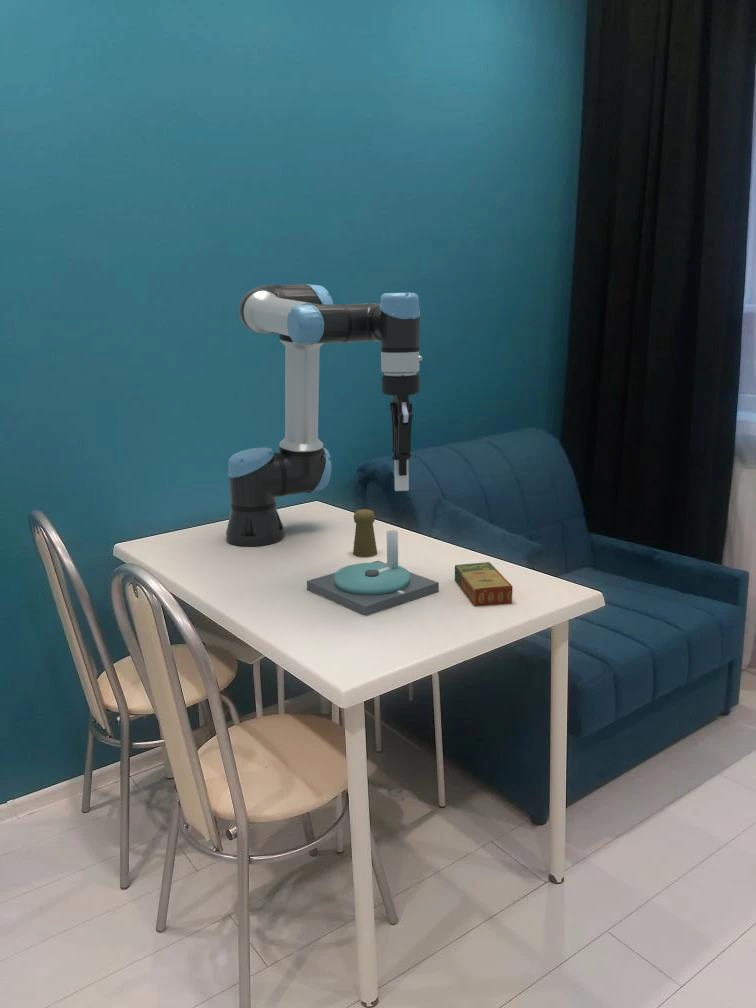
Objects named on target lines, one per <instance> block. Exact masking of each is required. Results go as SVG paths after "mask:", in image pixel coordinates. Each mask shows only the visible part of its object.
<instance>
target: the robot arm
mask: <svg viewBox="0 0 756 1008" xmlns="http://www.w3.org/2000/svg"><path fill="white" fill-rule="evenodd" d="M419 300H420V298H419V295H418V294H417V293H415V292H388V293H387V292H386V293H383V294H382V295H381V296H380V303H375V302H368V303H367V302H365V303H345V304H344V303H343V304H340V303H339V304H334V301H333V299H332V296H331V294H330V292H329V291H328V289H327V288H325V287H324V286H322V285H318V284H309V283H302V284H301V283H298V284H264V285H260V286H257V287H254V288H252V289H250V290H249V291H247V292H246V293H245V294H244V295H243V296H242V298H241V299H240V302H239V305H238V315H239V318H240V320H241V323H242V324H243V325H244V327H246V328H247V329H248V330H249V331H252V332H254V333H259V334H264V335H265V334H266V335H279V336H278V337H279V341H280V342H281V344H283V345H284V347H285V348H284V349H285V351H284V352H285V353H284V354H285V355H284V357H285V361H284V362H285V369H284V370H285V373H284V375H285V378H284V379H285V381H284V383H285V385H284V388H285V389H284V391H285V393H284V399H285V400H284V401H285V405H284V413H285V414H284V419H285V420H284V421H285V422H284V433H285V434H284V438H283V439H282V440H281V441H279V442H278V443H279V447H278V451H276V452H274V450H273V449H272V448H270V447H265V446H263V447H254V448H253V447H252V448H247V449H244V450H241V451H238V452H236V453H234V454H233V455H231V456H230V458H229V459H228V472H227V476H228V479H229V483H228V484H229V496H230V510H231V511H230V516H229V520H228V523H227V528H226V531H225V538H226V542H227V543H228V544H232V545H234V546H241V547H259V546H265V545H270V544H276V543H278V542H280V541H281V540H283V539H284V538H285V528H284V525H283V522H282V520H281V517H280V514H279V512H278V510H277V501H276V500H277V499H276V498H278V497H285V496H292V495H293V496H294V495H299V494H311V493H313V492H318V491H322V490H324V488H325V487H327V486H328V485H329V482H330V479H331V475H332V461H331V455H330V452H329V450H328V449H327V448H325V447H324V442H322V441H321V440H320V438H319V398H320V396H319V395H320V394H319V391H320V389H319V388H320V348H321V346H323V345H324V344H337V343H341V344H342V343H362V342H364V343H366V342H380V366H381V367H380V369H381V370H380V371H381V372H382V373H384V374H383V375H382V376H381V393H382V394H383V395H386V396H392V402H389V411H390V417H391V418H390V422H391V436H392V437H391V438H392V439H391V440H392V448H391V449H392V451H391V452H392V453H393V456H392V460H393V461H394V462H393V463H394V465H393V466H394V467H393V468H394V469H393V471H394V475H393V476H394V491H395V492H402V491H404V492H406V491H410V482H409V481H410V480H409V479H410V473H409V472H410V468H409V465H410V464H409V463H410V461H409V459H411V456H412V455H411V454H412V453H411V452H412V451H411V450H412V449H411V448H412V447H411V445H412V444H411V443H412V421H413V416H414V413H413V404H412V403H411V402H410V398H409V397H410V395H417V394H419V393H420V391H421V389H420V387H421V385H420V383H421V381H420V380H421V379H420V375H419V374H418V372H419V371H420V362H421V361H423V356H422V355H420V342H421V341H420V337H421V335H420V330H421V327H420V326H421V325H420V324H421V321H420V319H421V318H420V317H421V311H420V301H419Z"/></svg>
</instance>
